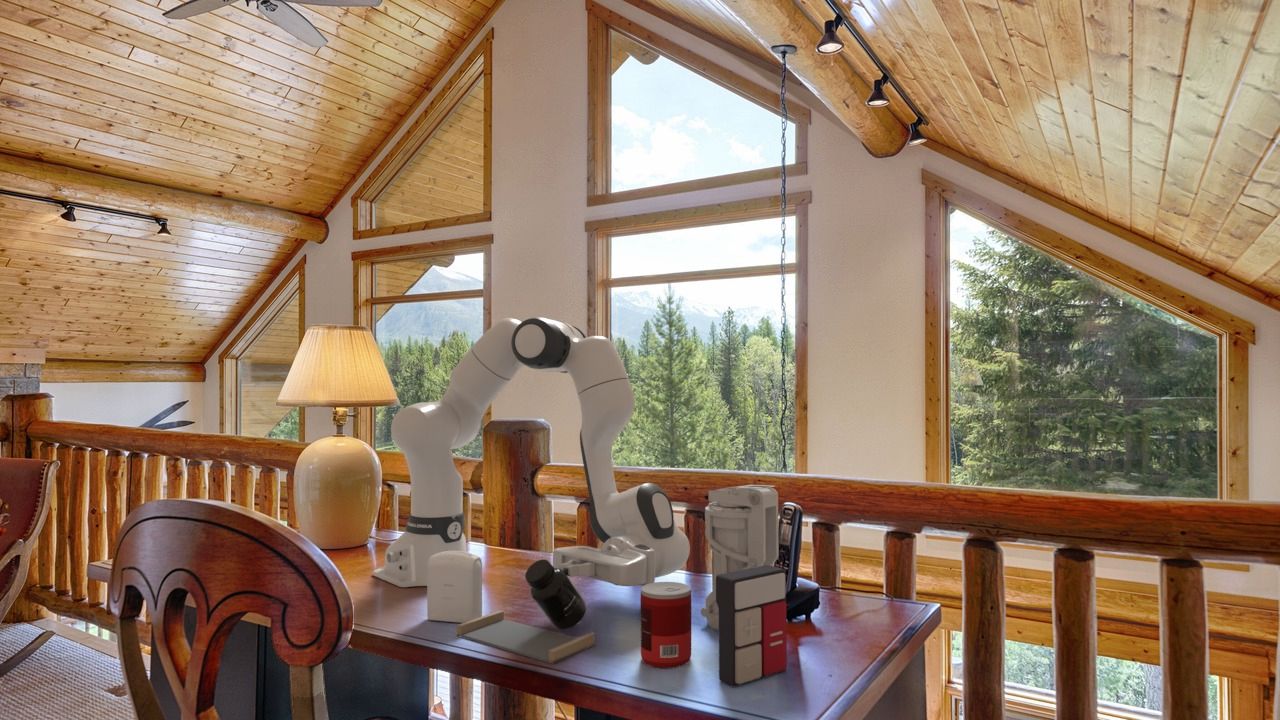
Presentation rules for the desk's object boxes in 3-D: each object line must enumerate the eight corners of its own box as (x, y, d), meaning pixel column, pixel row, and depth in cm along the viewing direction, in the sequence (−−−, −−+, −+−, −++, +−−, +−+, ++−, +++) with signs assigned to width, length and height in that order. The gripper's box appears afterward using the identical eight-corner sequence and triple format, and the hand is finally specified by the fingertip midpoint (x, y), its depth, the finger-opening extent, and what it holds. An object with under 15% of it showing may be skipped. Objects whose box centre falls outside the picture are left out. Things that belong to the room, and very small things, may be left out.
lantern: (693, 624, 130) (693, 483, 131) (728, 611, 137) (727, 478, 138) (754, 642, 121) (753, 490, 122) (788, 627, 128) (787, 484, 129)
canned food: (701, 658, 113) (701, 587, 114) (668, 673, 108) (668, 598, 108) (663, 647, 119) (663, 578, 119) (630, 660, 113) (630, 588, 113)
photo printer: (423, 621, 132) (423, 552, 132) (435, 614, 136) (436, 547, 136) (474, 626, 129) (474, 555, 129) (485, 618, 133) (486, 550, 134)
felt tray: (456, 635, 124) (456, 624, 124) (499, 620, 132) (500, 610, 132) (553, 663, 111) (553, 651, 111) (594, 645, 119) (594, 633, 119)
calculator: (736, 690, 102) (735, 581, 102) (715, 680, 105) (715, 574, 106) (790, 672, 108) (789, 569, 109) (769, 663, 112) (768, 564, 112)
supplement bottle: (585, 625, 125) (551, 581, 119) (551, 635, 127) (515, 592, 121) (590, 593, 131) (557, 549, 125) (557, 603, 132) (523, 560, 127)
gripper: (586, 535, 145) (529, 543, 135) (661, 550, 130) (603, 561, 121) (585, 568, 144) (528, 578, 135) (660, 586, 130) (602, 600, 120)
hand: (564, 570), depth 127 cm, fingers closed, pressing on supplement bottle
